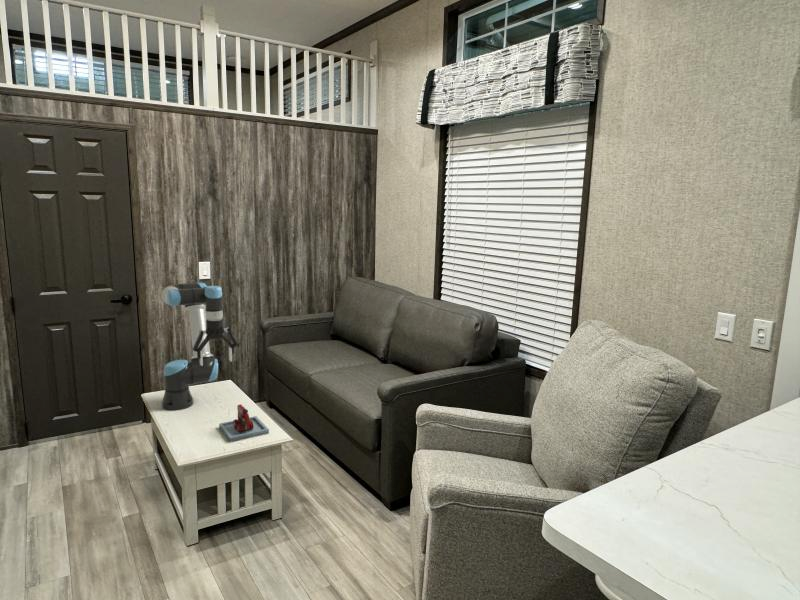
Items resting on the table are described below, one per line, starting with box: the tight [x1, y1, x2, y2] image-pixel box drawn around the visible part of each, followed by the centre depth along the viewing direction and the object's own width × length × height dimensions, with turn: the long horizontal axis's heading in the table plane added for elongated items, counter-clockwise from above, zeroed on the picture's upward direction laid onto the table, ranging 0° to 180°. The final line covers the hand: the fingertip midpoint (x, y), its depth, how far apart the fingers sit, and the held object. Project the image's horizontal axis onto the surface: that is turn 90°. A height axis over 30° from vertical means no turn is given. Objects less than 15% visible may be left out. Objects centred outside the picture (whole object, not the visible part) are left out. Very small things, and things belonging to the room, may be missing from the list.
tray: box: [218, 415, 270, 443], centre depth 253 cm, size 18×18×2 cm
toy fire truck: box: [232, 404, 254, 432], centre depth 252 cm, size 7×12×10 cm, turn 36°
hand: (216, 362), depth 254 cm, fingers open, 13 cm apart
